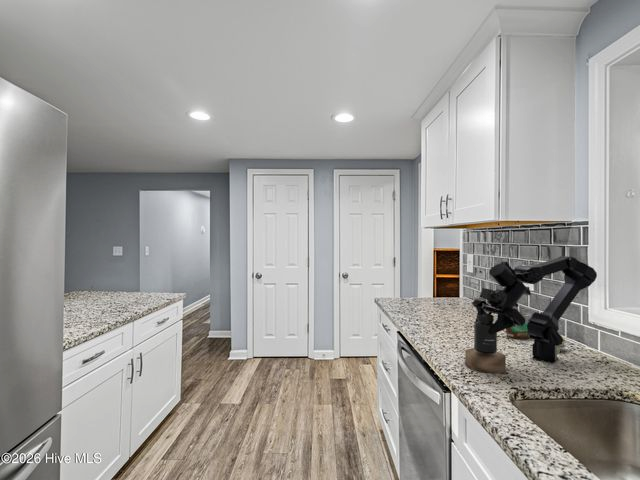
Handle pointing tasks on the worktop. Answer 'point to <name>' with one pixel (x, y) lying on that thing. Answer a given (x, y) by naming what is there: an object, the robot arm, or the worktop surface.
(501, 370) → the walnut plinth
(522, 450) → the worktop surface
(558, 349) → the stacked layers on plate
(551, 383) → the worktop surface
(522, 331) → the food container
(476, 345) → the supplement bottle
